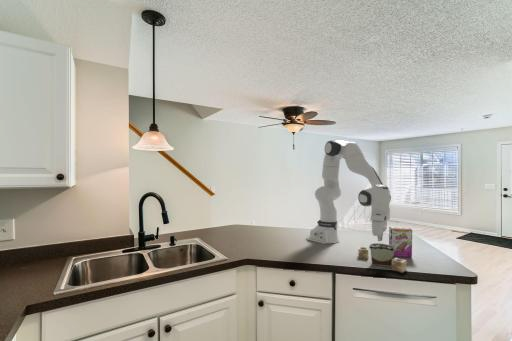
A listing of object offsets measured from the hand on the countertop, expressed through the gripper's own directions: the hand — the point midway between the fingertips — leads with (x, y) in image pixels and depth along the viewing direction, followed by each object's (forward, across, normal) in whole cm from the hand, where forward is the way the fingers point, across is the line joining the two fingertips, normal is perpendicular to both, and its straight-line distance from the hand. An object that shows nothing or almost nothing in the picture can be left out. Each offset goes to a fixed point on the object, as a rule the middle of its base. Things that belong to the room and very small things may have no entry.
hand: (379, 240), depth 134 cm
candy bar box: (+12, -19, +8) cm, 24 cm away
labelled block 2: (+12, +4, +10) cm, 16 cm away
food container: (+12, 0, +1) cm, 12 cm away
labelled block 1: (+12, -5, -9) cm, 16 cm away
